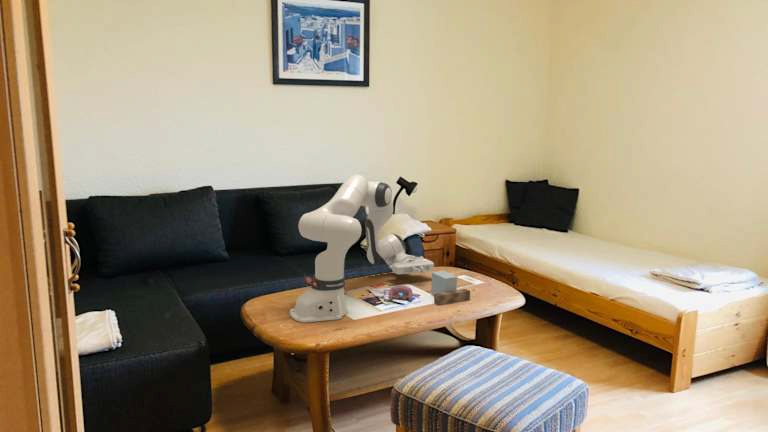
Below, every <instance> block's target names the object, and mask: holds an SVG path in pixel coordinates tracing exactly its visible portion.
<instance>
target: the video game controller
mask: <svg viewBox="0 0 768 432" xmlns="http://www.w3.org/2000/svg"><path fill="white" fill-rule="evenodd" d="M400 293H402V294H401V296H400ZM393 297H394V299H396V300H398V298H399V299H400V297H401V299H402V300H407V298H408V301H409V302H412V301H413V290H412V288H411V287H409V286H407V285H402V284H401V285H394V286H391V288H390V289H389V292H388V301H390V300H391V301H392V300H393Z"/></svg>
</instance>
